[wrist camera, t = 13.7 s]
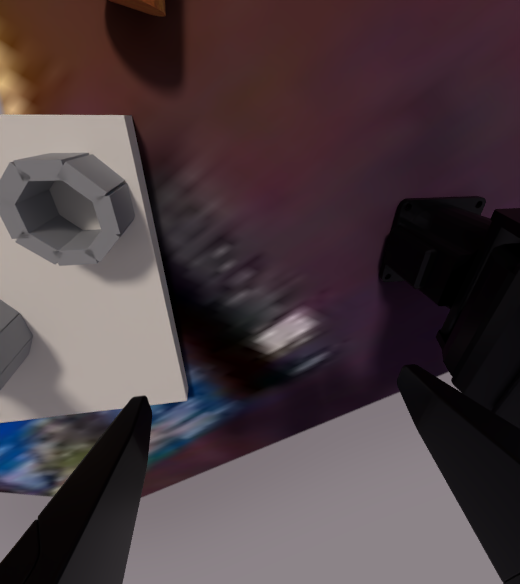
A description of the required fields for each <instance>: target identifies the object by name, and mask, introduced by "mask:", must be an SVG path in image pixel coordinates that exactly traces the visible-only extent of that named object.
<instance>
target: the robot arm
mask: <svg viewBox="0 0 520 584" xmlns="http://www.w3.org/2000/svg"><path fill="white" fill-rule="evenodd" d="M477 202H478V203H477ZM485 203H486V200H485V198H482V197H479V196H469V197H439V198H409V199H404V200H402V201H401V202H400V203H399V206H398V209H397V213H396V216H395V220H394V224H393V227H392V230H391V232H390V236H389V240H388V243H387V247H386V251H385V254H384V258H383V264H382V268H381V272H380V279H381V280H383V281H384V282H394V281H406V282H408V283H409V284H410V285H411V286H412V287H414V288H415V289H419V290H420V291H422V292H423V293H424V294H425V295H426V296H428V297H429V298H430V299H431V300H432V301H434V302H435V303H436V304H437V305H438V306H447V307H448V308H449V309H450V312H449V314H448V316H447V318H446V320H445V322H444V325H443V327H442V329H441V330H439V331H438V333H437V335H436V338H437V340H438V342H439V344H440V346H441V348H442V354H443V362H444V364H445V365H446V367H447V369H448V370H449V372H450V374H451V375H452V377H453V378H452V380H451V381H452V383H453V385H454V386H455V387H456V388H457V389H459V390H460V391H461V392H462V393H461V392H459V391H458V390H456V389H455V388H453V387H451V386H450V385H448V384H446V383H445V382H443V381H441V380H440V379H438V378H437V377H435V376H434V375H432V374H430V373H429V372H427V371H426V370H424V369H422V368H421V367H419V366H417V365H415V364H411V365H404V366H403V367H402V369H401V372H400V374H399V377H398V379H397V385H398V388H399V390H400V393H401V395H402V397H403V399H404V401H405V404H406V406H407V408H408V411H409V413H410V415H411V417H412V419H413V422H414V424H415V426H416V428H417V430H418V432H419V434H420V435H421V437H422V439H423V441H424V443H425V444H426V446H427V448H428V450H429V452H430V453H431V455H432V457H433V459H434V460H435V462H436V464H437V465H438V468H439V469H440V471H441V473H442V475H443V476H444V478H445V480H446V482H447V484H448V486H449V487H450V489H451V491H452V493H453V494H454V496H455V498H456V500H457V502H458V503H459V505H460V507H461V508H462V510H463V512H464V514H465V516H466V518H467V519H468V521H469V523H470V525H471V526H472V528H473V530H474V532H475V534H476V535H477V537H478V539H479V541H480V543H481V544H482V546H483V548H484V550H485V552H486V553H487V555H488V557H489V559H490V561H491V562H492V564H493V566H494V568H495V570H496V571H497V573H498V575H499V577H500V578H501V580H502V581H503V584H520V208H512V209H495V210H494V212H493V215H492V217H491V219H490V218H487V217H484V216H481V213H482V210H483V208H484V206H485ZM407 204H408V207H407V208H406V209H405V206H406V205H407ZM476 204H477V205H476ZM387 274H388V276H386V275H387ZM385 276H386V277H385ZM151 423H152V410H151V407H150V404H149V401H148V398H147V397H146V396H145V395H143V396H135V397H132V398H131V399H130V400H129V402H128V403H127V404H126V406H125V407H124V408H123V409H122V411H121V412H120V413H119V414H118V416H117V417H116V418H115V419H114V421H113V422H112V423H111V425H110V426H109V427H108V428H107V430H106V431H105V432H104V433H103V435H102V436H101V437H100V438H99V440H98V441H97V442H96V444H95V445H94V446H93V447H92V449H91V450H90V451H89V452H88V454H87V455H86V456H85V457H84V459H83V460H82V461H81V463H80V464H79V465H78V466H77V468H76V469H75V470H74V471H73V473H72V474H71V475H70V476H69V478H68V479H67V480H66V482H65V483H64V484H63V485H62V487H61V488H60V489H59V490H58V492H57V493H56V494H55V495H54V497H53V498H52V499H51V501H50V502H49V503H48V504H47V506H46V507H45V508H44V509H43V511H42V512H41V513H40V515H39V516H38V520H35V521H34V522H33V523H32V524H31V526H30V527H29V528H28V530H27V531H26V532H25V533H24V535H23V536H22V537H21V538H20V540H19V541H18V542H17V543H16V545H15V546H14V547H13V548H12V549H11V551H10V552H9V553H8V554H7V555H6V557H5V558H4V559H3V560H2V562H1V563H0V584H122V582H123V578H124V573H125V568H126V564H127V559H128V554H129V549H130V545H131V540H132V535H133V531H134V526H135V521H136V516H137V512H138V507H139V502H140V498H141V493H142V488H143V483H144V479H145V474H146V468H147V461H148V452H149V442H150V432H151Z"/></svg>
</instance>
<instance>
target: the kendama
mask: <svg viewBox="0 0 520 584" xmlns="http://www.w3.org/2000/svg"><path fill="white" fill-rule="evenodd" d="M109 1H111V2H114V3H117V4H120V5H123V6H126V7H129V8H132V9H135V10H138V11H141V12H144V13H147V14H150V15H154V16H160V17H163V16H166V12H165V0H109Z"/></svg>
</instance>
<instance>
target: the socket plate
mask: <svg viewBox="0 0 520 584" xmlns="http://www.w3.org/2000/svg"><path fill="white" fill-rule="evenodd" d="M143 395H145V396H146V397H147V398H148V401H149V404H150V405H155V404H164V403H172V402H181V401H187V396H188V383H187V378H186V374H185V369H184V364H183V359H182V354H181V350H180V345H179V340H178V335H177V331H176V326H175V321H174V316H173V311H172V307H171V302H170V297H169V292H168V288H167V283H166V278H165V273H164V268H163V264H162V259H161V254H160V249H159V244H158V240H157V235H156V230H155V225H154V221H153V216H152V211H151V206H150V201H149V197H148V192H147V187H146V182H145V177H144V173H143V168H142V163H141V158H140V154H139V149H138V144H137V139H136V134H135V130H134V125H133V120H132V116H127V115H0V423H3V422H12V421H20V420H28V419H37V418H45V417H54V416H62V415H71V414H79V413H88V412H96V411H105V410H113V409H121V408H124V407H125V406H126V404H127V403H128V402H129V400H130V399H131V398H132V397H135V396H143Z"/></svg>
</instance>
